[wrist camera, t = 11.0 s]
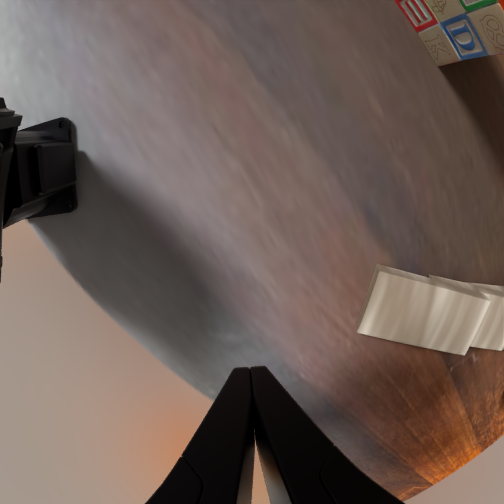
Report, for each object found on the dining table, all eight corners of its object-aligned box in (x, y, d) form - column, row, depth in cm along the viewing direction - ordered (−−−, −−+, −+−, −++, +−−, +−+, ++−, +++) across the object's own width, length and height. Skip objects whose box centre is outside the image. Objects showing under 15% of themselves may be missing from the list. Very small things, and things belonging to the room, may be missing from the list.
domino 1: (357, 332, 22) (464, 355, 20) (379, 271, 20) (490, 301, 18) (356, 322, 23) (459, 345, 21) (376, 263, 21) (483, 293, 20)
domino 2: (413, 337, 22) (501, 350, 20) (434, 281, 21) (523, 302, 18) (410, 327, 24) (495, 341, 22) (429, 274, 22) (515, 294, 20)
